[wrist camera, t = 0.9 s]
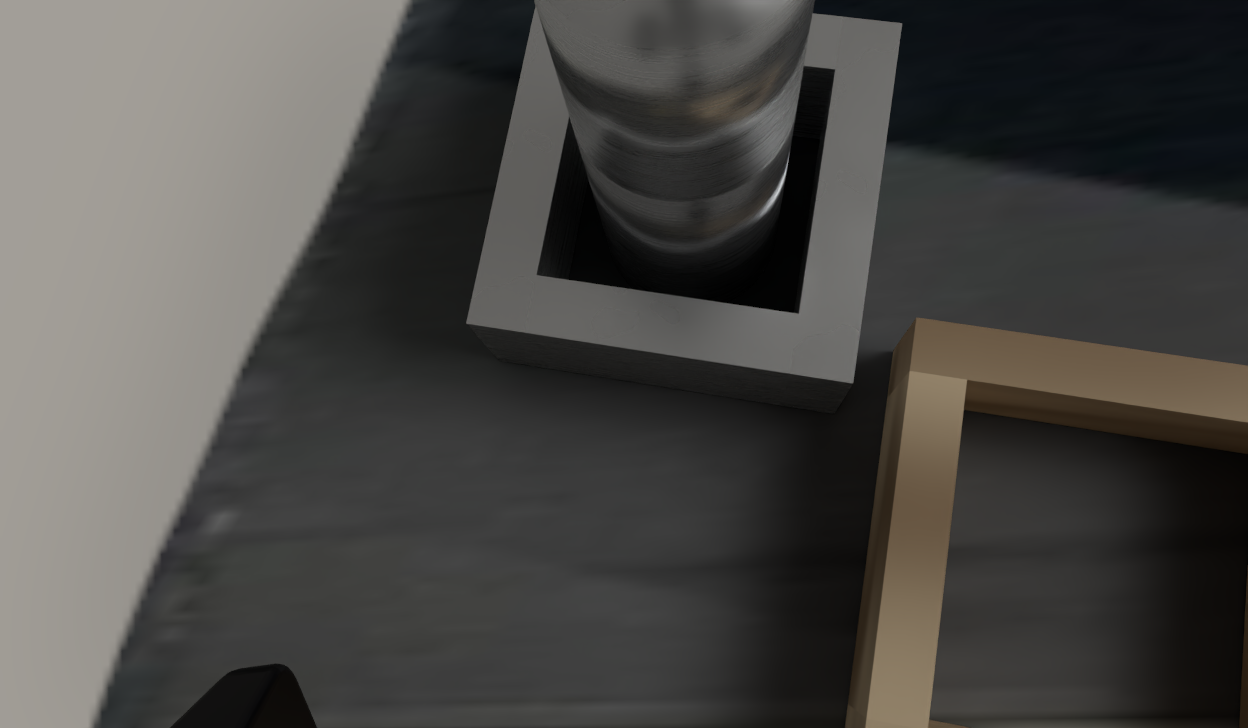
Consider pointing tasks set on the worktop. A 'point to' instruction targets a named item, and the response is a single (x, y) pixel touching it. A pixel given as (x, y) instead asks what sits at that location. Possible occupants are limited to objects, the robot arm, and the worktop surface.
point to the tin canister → (683, 130)
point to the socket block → (680, 326)
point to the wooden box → (928, 457)
